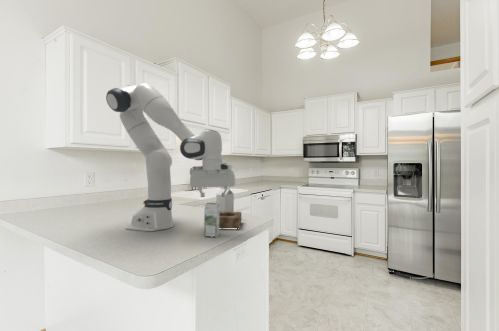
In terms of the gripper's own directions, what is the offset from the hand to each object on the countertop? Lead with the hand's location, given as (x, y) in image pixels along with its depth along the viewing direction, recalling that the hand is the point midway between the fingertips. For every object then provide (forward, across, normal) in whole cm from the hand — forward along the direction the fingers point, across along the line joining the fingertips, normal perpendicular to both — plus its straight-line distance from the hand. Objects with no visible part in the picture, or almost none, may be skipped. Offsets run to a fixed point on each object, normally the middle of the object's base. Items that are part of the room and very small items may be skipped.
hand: (213, 196), depth 107 cm
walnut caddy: (+18, +3, +17) cm, 25 cm away
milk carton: (+18, 0, +30) cm, 35 cm away
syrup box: (+18, -1, 0) cm, 18 cm away
